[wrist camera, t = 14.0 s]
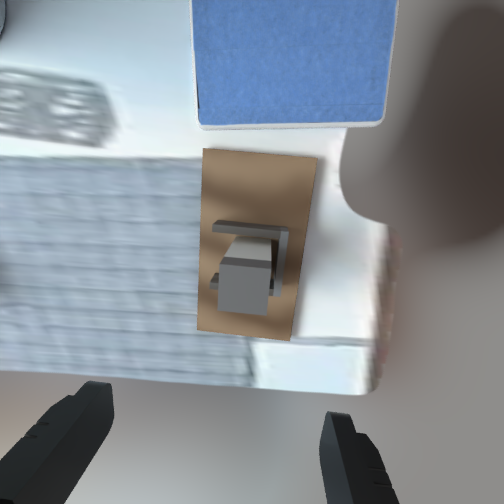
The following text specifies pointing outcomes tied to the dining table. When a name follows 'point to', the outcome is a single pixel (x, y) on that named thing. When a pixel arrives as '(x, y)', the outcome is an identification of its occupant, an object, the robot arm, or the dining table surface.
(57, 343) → the dining table surface
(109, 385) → the robot arm
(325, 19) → the tablet computer
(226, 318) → the holder
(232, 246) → the plug
